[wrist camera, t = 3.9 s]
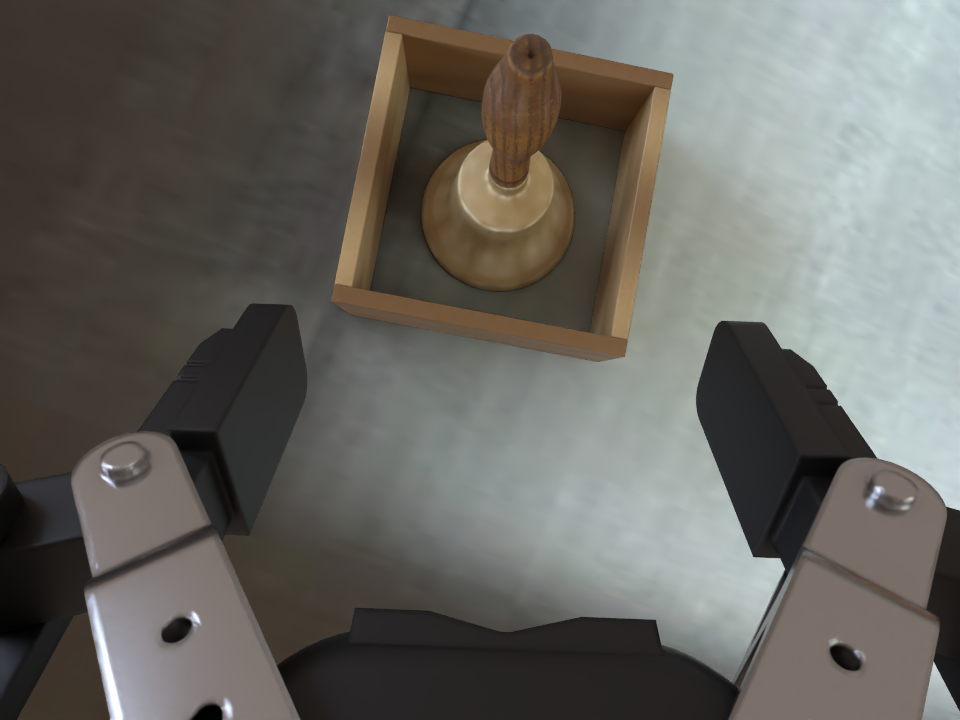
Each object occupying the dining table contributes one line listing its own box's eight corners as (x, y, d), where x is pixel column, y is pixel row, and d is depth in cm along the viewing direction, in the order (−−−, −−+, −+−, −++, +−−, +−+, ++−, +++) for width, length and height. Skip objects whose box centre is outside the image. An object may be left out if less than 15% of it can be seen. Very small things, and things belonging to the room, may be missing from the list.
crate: (599, 362, 33) (625, 356, 28) (349, 314, 32) (330, 300, 27) (641, 120, 34) (674, 73, 28) (398, 70, 33) (388, 13, 28)
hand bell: (496, 323, 33) (537, 258, 17) (389, 212, 33) (328, 41, 17) (605, 219, 33) (745, 59, 17) (500, 110, 33) (543, -150, 17)
